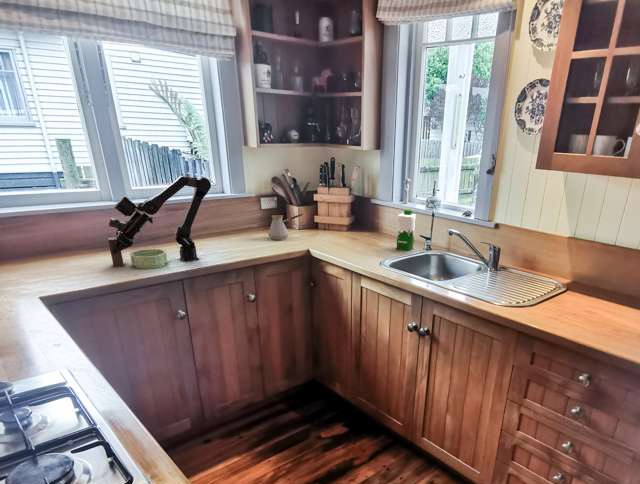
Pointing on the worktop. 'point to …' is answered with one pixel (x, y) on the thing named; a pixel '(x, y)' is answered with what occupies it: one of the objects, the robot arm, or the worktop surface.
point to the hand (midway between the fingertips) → (112, 250)
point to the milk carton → (405, 230)
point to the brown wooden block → (117, 256)
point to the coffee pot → (279, 227)
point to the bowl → (148, 258)
